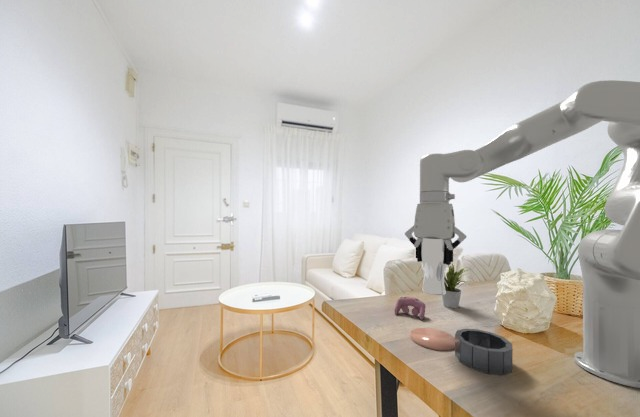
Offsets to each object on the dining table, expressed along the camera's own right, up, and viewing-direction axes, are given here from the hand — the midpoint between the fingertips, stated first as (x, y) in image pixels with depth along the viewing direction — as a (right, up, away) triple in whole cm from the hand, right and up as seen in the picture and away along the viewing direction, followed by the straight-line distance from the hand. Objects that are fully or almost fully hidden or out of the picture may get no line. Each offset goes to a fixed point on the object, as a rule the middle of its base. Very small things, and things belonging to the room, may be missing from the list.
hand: (433, 262), depth 73 cm
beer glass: (0, -8, 0) cm, 8 cm away
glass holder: (+7, -21, -11) cm, 25 cm away
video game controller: (-1, -22, +17) cm, 28 cm away
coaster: (0, -21, 0) cm, 21 cm away
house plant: (+19, -23, +26) cm, 39 cm away
